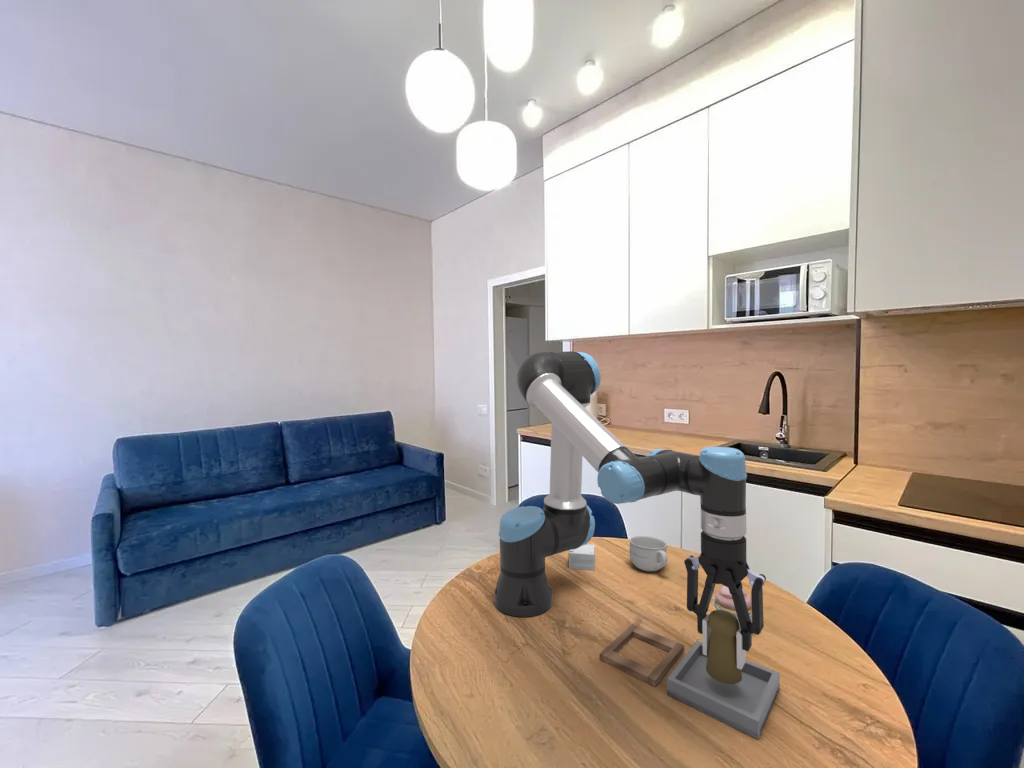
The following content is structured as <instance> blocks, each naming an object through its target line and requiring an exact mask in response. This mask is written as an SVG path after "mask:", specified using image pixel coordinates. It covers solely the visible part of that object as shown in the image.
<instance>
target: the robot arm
mask: <svg viewBox="0 0 1024 768" xmlns="http://www.w3.org/2000/svg"><path fill="white" fill-rule="evenodd" d="M600 385H601V370H600V367H599V365H598V363H597V361H596V360H595V359H594V357H593V356H592V355H591V354H588V353H586V352H582V351H575V350H572V351H547V350H546V351H536V352H533V353H531V354H529V355H528V356H527V357H526V358H524V359H523V360H522V361H521V363H520V365H519V367H518V369H517V373H516V386H517V388H518V391H519V392H520V395H521V397H522V398H523V399H524V400H525V401H526V403H527V404H528V405H529V406H530V407H532V408H535V409H539V410H540V411H541V413H542V414H543V415H544V416H545V417H546V418H547V419H548V420H549V421H550V422H551V430H550V432H551V433H550V465H549V466H550V467H549V493H548V494H547V495H546V496H545V497H544V498H543V509H542V508H541V507H539V506H534V505H526V506H524V505H523V506H522V505H521V506H518V507H517V506H516V507H515V508H511V509H509V510H508V511H506V512H505V513H504V514H503V515H502V516H501V517H500V520H499V531H498V536H499V557H500V558H499V563H500V567H499V568H500V569H499V570H500V573H499V575H498V578H497V579H498V580H497V583H496V587H495V589H494V593H493V601H494V606H495V608H496V609H497V610H498V611H500V612H502V613H503V614H506V615H508V616H512V617H513V616H514V617H519V618H522V617H523V618H527V617H528V618H529V617H533V616H538V615H541V614H543V613H545V612H547V611H548V610H549V609H550V608H551V607H552V606H553V602H554V599H553V590H552V588H551V586H550V583H549V578H548V576H547V573H546V558H547V557H550V556H553V555H557V554H560V553H564V552H567V551H568V552H569V550H573V549H577V548H579V547H581V546H583V545H585V544H588V543H589V542H590V541H591V540H592V538H593V536H594V533H595V528H596V521H595V517H594V515H592V514H593V511H592V509H591V508H590V506H589V505H587V503H588V502H587V500H586V499H585V498H584V497H583V496H582V484H583V483H582V481H583V477H582V476H583V458H584V459H585V460H586V461H587V463H589V465H590V466H591V467H592V468H593V469H594V470H595V471H596V472H597V478H596V480H597V481H596V482H597V487H598V488H599V489H600V493H601V495H602V497H603V498H604V499H605V500H606V501H608V502H610V503H611V504H618V505H621V504H628V503H636V502H637V501H641V500H644V499H647V498H652V497H655V496H659V495H661V496H662V495H664V494H669V493H673V492H681V493H682V492H683V493H686V494H691V495H695V496H699V497H700V529H701V532H700V554H699V556H693V555H689V556H688V557H686V558H685V560H684V561H683V562H684V563H683V564H684V566H685V569H686V573H687V574H686V575H687V576H686V609H687V610H688V611H689V612H693V614H695V615H696V618H697V619H696V620H697V624H696V625H697V633H698V634H701V635H702V643H703V654H704V655H706V656H707V655H708V650H709V643H710V636H711V629H710V627H709V624H708V617H709V614H710V613H708V611H709V607H710V604H711V600H712V599H713V593H714V591H715V588H716V585H723V586H726V587H728V588H729V592H730V594H731V595H732V599H733V602H734V606H735V610H736V613H737V617H738V620H739V624H740V628H739V629H738V631H737V635H736V638H737V668H738V669H741V670H742V668H743V666H744V664H745V663H746V660H747V655H746V651H747V652H749V651H750V649H751V648H752V641H753V639H752V638H753V637H752V636H753V634H754V635H760V634H761V633H762V630H763V628H764V595H763V594H764V593H763V590H764V589H763V587H764V585H765V582H766V580H767V577H766V575H765V574H763V573H759V574H758V573H756V572H755V571H753V570H751V569H750V565H748V561H747V538H746V536H747V535H746V534H747V506H746V503H747V499H746V498H747V497H746V496H747V478H748V473H747V470H746V469H747V468H746V465H747V464H746V457H745V453H743V452H742V451H741V450H740V449H738V448H735V447H726V446H724V447H723V446H706V447H703V448H702V449H701V450H700V451H699V452H700V453H699V455H698V454H691V453H687V452H681V451H676V450H673V449H669V448H668V449H659V448H657V449H652V450H651V452H650V453H649V454H647V455H646V456H641V457H638V456H637V455H636V454H634V452H632V451H631V450H630V449H629V448H628V446H626V445H625V444H623V442H622V441H621V440H619V439H618V438H617V437H616V436H615V435H614V434H613V433H612V432H611V431H610V430H609V429H608V428H607V427H606V425H604V424H603V423H602V422H601V421H600V420H599V419H598V418H596V416H594V415H593V414H592V413H591V412H590V411H589V410H588V409H587V407H588V406H589V405H590V404H591V396H592V395H593V394H595V393H596V392H597V390H598V389H599V388H600ZM700 567H701V568H702V569H703V571H704V573H705V574H706V578H705V582H704V586H703V591H702V594H701V596H700V600H698V599H699V568H700ZM746 577H747V579H748V582H749V586H751V591H750V594H751V596H750V597H751V602H752V622H751V619H750V615H749V612H748V608H747V605H746V601H745V597H744V594H743V590H742V588H743V584H742V581H743V580H744V579H745V578H746ZM698 602H699V603H698Z"/></svg>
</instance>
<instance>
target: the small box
mask: <svg viewBox="0 0 1024 768" xmlns="http://www.w3.org/2000/svg"><path fill="white" fill-rule="evenodd" d="M568 568H569V570H584V571H595V568H596V548H595V544H592V543H591V544H590V543H589V544H588V543H587V544H585V545H583V546H581V547H579V548H577V549H573V550H568Z"/></svg>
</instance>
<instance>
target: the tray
mask: <svg viewBox="0 0 1024 768" xmlns="http://www.w3.org/2000/svg"><path fill="white" fill-rule="evenodd" d="M707 657H708V655H707V656H706V655H704V654H703V641H700V640H696V641H695V643H694V644H693V645H691V648H689V650H688V651H687V653H686V654H685V655H684V656H683V658H682V659H681V661H680V662H679V663H678V664H677V666H675V668H674V669H673V670H672V672H671V673H670V674H669V675H668V677H667V678H666V685H667V686H666V690H667V691H666V693H667V696H669V697H670V698H673V699H675V700H677V701H679V702H681V703H683V704H685V705H688V706H689V707H692V708H694V709H695V710H697V711H699V712H701V713H703V714H705V715H707V716H709V717H711V718H713V719H715V720H718V721H720V722H721V723H723V724H725V725H727V726H730V727H732V728H734V729H736V730H738V731H740V732H741V733H743V734H746V735H747V736H750V737H752V738H754V739H755V740H759V739H760V736H761V735H762V732H763V729H764V727H765V725H766V723H767V720H768V718H769V716H770V713H771V710H772V708H773V706H774V703H775V700H776V698H777V696H778V693H779V692H780V683H781V682H780V680H781V679H780V676H781V675H780V672H778V671H775V670H773V669H770V668H768V667H765V666H762V665H760V664H758V663H755V662H754V661H753V662H752V661H750V660H747V659H746V663H745V664H744V666H743V668H742V670H741V672H742V680H741V681H740V682H739V683H736V684H726V683H722V682H719V681H717V680H715V679H713V678H712V677H711V676H710V675H709V674H708V673H707V671H706V664H707Z"/></svg>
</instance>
